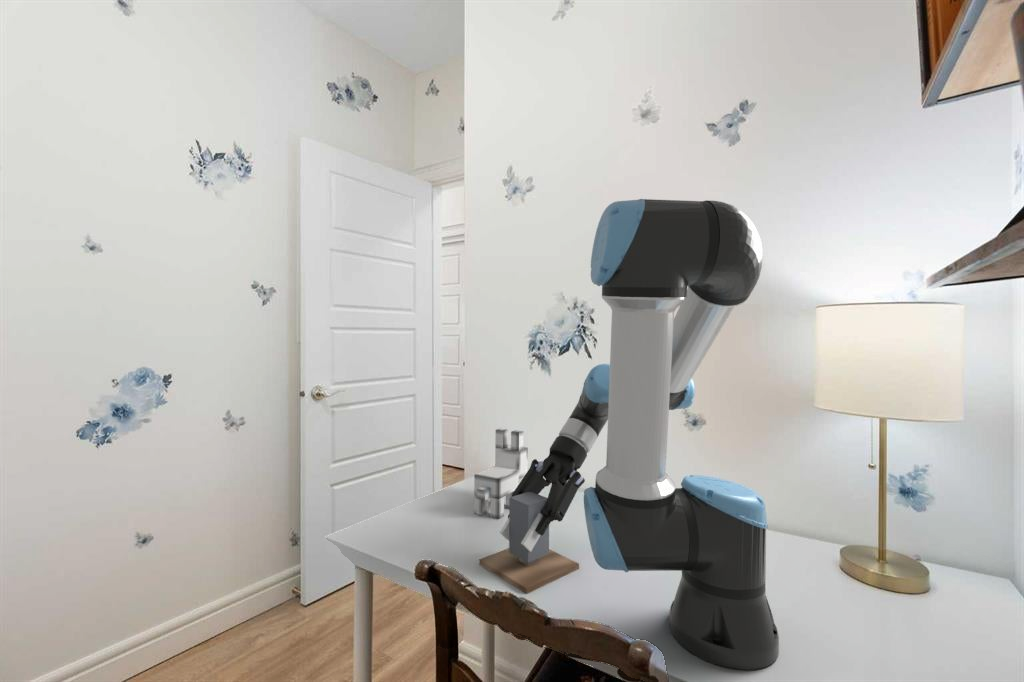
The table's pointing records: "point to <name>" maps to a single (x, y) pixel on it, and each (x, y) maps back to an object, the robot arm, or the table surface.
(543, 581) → the post
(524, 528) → the gray upright pillar
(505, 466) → the toy llama
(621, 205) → the robot arm
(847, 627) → the table surface
